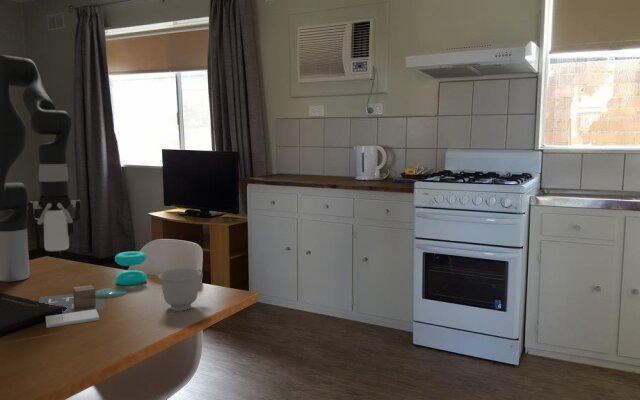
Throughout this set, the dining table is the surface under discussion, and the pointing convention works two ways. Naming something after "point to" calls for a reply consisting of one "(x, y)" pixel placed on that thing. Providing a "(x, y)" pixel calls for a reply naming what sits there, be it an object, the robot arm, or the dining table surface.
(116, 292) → the coaster
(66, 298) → the tile
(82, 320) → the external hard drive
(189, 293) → the teacup
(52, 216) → the can
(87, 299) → the walnut block
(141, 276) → the donuts
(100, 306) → the tile
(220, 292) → the dining table surface
